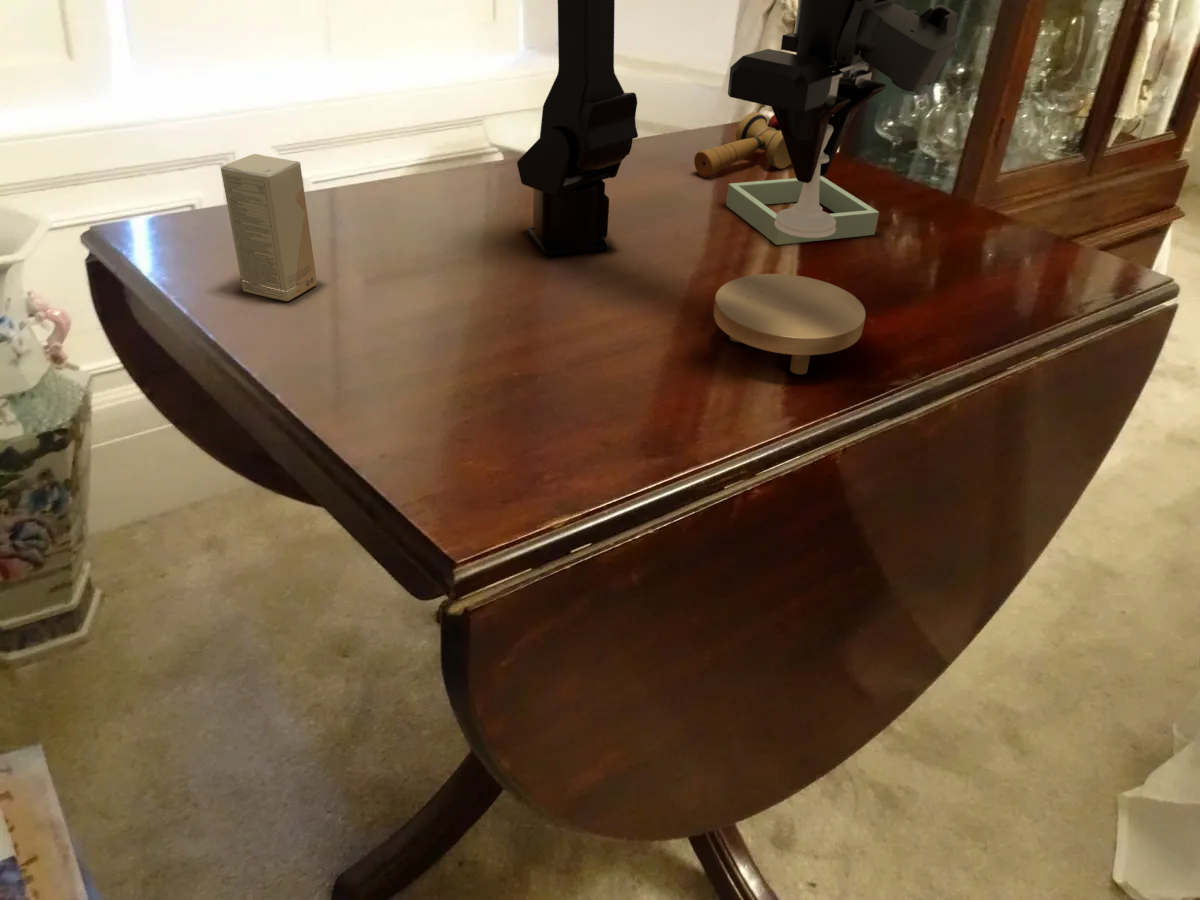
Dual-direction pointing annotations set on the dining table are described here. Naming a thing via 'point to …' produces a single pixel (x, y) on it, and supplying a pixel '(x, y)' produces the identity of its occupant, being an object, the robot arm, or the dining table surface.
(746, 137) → the kendama
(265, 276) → the box
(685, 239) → the dining table surface
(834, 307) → the stool
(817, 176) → the chess piece
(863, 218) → the square frame
